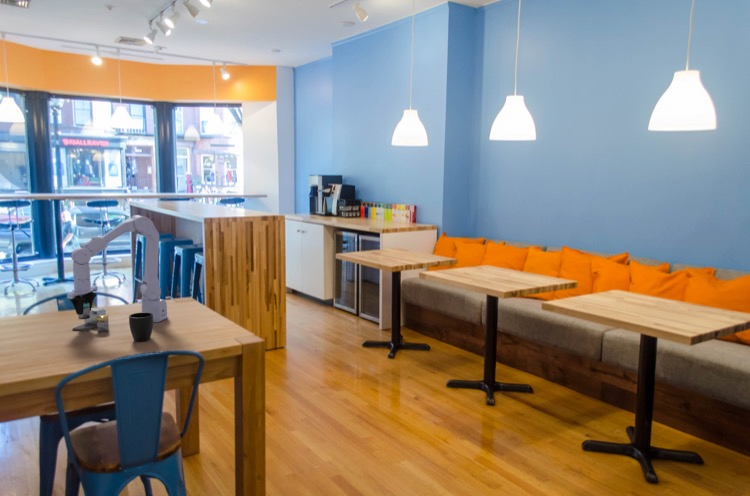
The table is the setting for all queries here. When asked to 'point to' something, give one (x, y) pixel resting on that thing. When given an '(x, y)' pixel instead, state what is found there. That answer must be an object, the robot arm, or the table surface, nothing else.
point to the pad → (84, 327)
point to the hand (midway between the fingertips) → (83, 312)
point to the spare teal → (85, 311)
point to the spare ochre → (102, 324)
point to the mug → (141, 326)
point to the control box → (94, 315)
